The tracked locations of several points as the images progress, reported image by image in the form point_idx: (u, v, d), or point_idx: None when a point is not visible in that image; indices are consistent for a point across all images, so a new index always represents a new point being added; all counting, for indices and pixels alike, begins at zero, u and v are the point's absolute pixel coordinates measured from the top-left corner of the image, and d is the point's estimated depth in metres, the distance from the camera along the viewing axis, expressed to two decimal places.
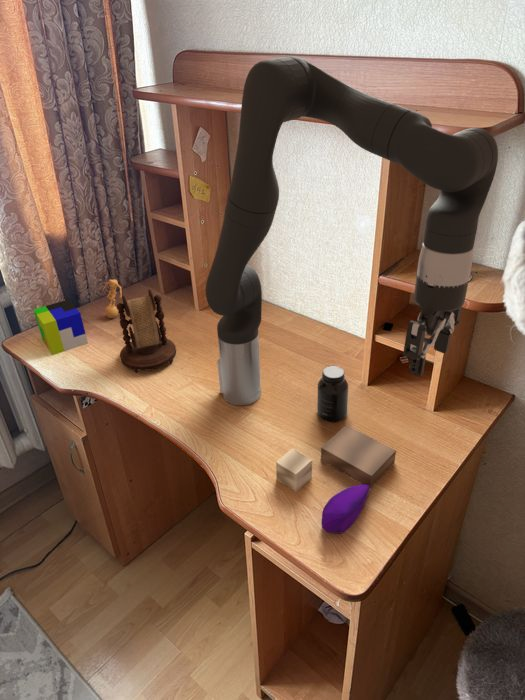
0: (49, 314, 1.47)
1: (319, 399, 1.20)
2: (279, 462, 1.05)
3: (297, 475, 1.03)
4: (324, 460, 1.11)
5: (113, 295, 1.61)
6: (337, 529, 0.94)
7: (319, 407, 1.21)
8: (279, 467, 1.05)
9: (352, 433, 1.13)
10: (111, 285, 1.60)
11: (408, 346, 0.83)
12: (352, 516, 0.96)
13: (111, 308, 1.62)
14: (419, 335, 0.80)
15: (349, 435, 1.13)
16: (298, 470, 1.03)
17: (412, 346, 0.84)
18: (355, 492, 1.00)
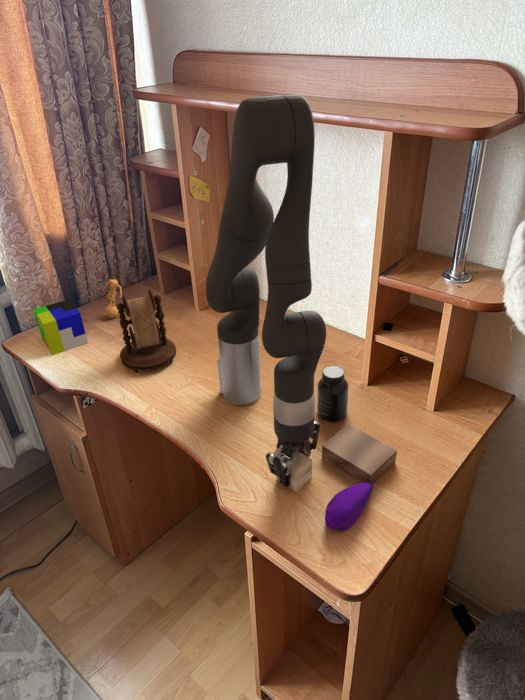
0: (49, 314, 1.47)
1: (319, 399, 1.20)
2: None
3: (297, 475, 1.03)
4: (325, 458, 1.12)
5: (113, 295, 1.61)
6: (340, 526, 0.95)
7: (319, 407, 1.21)
8: None
9: (353, 432, 1.13)
10: (111, 285, 1.60)
11: None
12: (356, 513, 0.97)
13: (111, 308, 1.62)
14: (275, 465, 0.98)
15: (350, 434, 1.13)
16: (298, 469, 1.03)
17: None
18: (359, 490, 1.00)
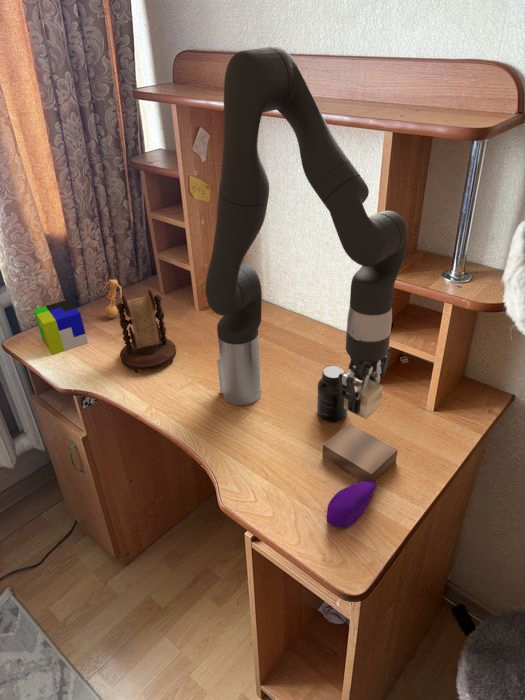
0: (49, 314, 1.47)
1: (319, 399, 1.20)
2: None
3: (369, 400, 0.98)
4: (325, 457, 1.12)
5: (113, 295, 1.61)
6: (342, 523, 0.95)
7: (319, 407, 1.21)
8: None
9: (354, 431, 1.14)
10: (111, 285, 1.60)
11: (343, 391, 0.97)
12: (357, 511, 0.97)
13: (111, 308, 1.62)
14: (348, 386, 0.94)
15: (351, 433, 1.13)
16: (369, 394, 0.98)
17: None
18: (361, 488, 1.01)
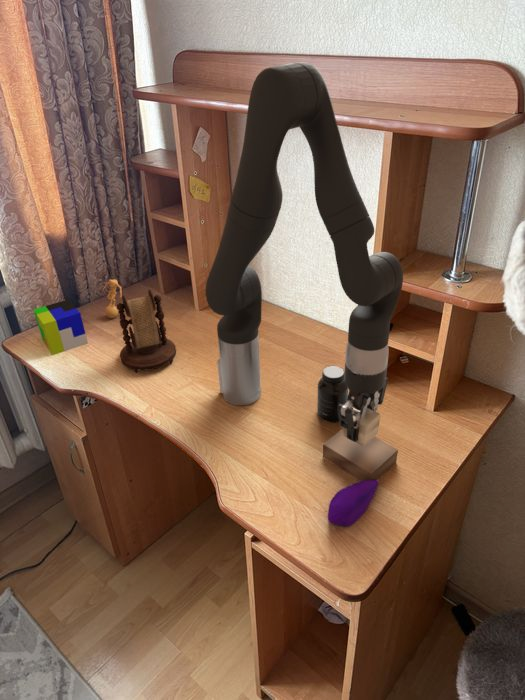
0: (49, 314, 1.47)
1: (319, 399, 1.20)
2: None
3: (367, 428, 1.02)
4: (326, 457, 1.12)
5: (113, 295, 1.61)
6: (343, 521, 0.96)
7: (319, 407, 1.21)
8: None
9: None
10: (111, 285, 1.60)
11: (342, 420, 1.01)
12: (359, 510, 0.97)
13: (111, 308, 1.62)
14: (347, 417, 0.97)
15: None
16: (367, 423, 1.02)
17: None
18: (363, 487, 1.01)
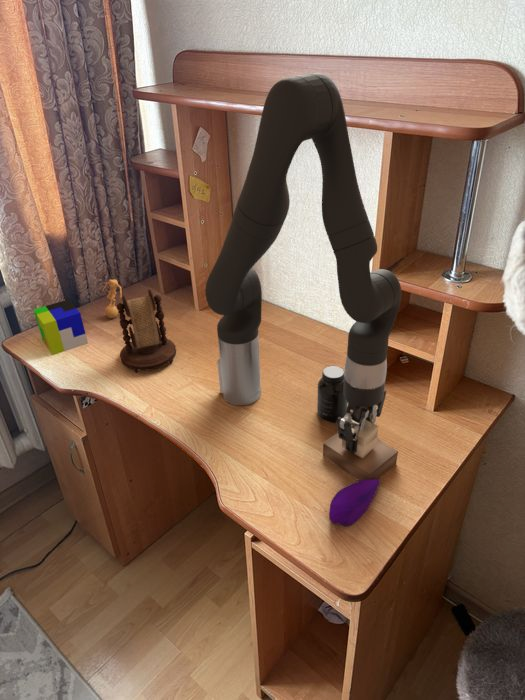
0: (49, 314, 1.47)
1: (319, 399, 1.20)
2: None
3: (365, 441, 1.04)
4: (326, 456, 1.12)
5: (113, 295, 1.61)
6: (344, 520, 0.96)
7: (319, 407, 1.21)
8: None
9: None
10: (111, 285, 1.60)
11: (341, 433, 1.02)
12: (360, 509, 0.97)
13: (111, 308, 1.62)
14: (346, 429, 0.99)
15: None
16: (366, 435, 1.04)
17: None
18: (364, 486, 1.01)
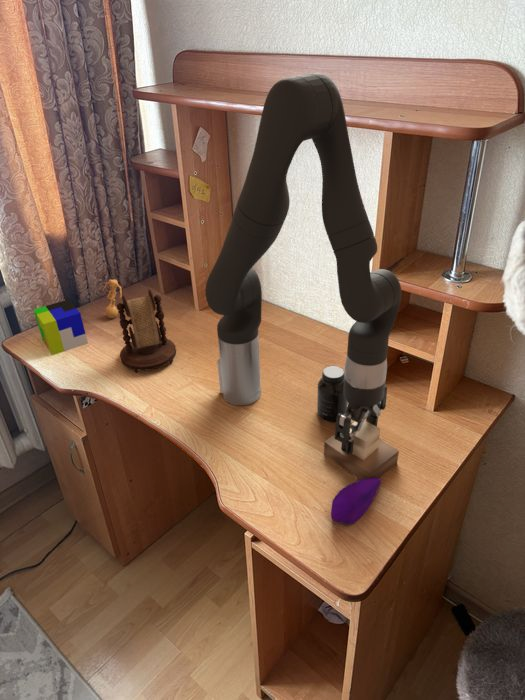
0: (49, 314, 1.47)
1: (319, 399, 1.20)
2: None
3: (367, 443, 1.05)
4: (327, 454, 1.12)
5: (113, 295, 1.61)
6: (346, 519, 0.96)
7: (319, 407, 1.21)
8: None
9: None
10: (111, 285, 1.60)
11: (338, 433, 1.01)
12: (362, 508, 0.98)
13: (111, 308, 1.62)
14: (345, 426, 0.98)
15: None
16: (367, 437, 1.05)
17: None
18: (366, 485, 1.01)
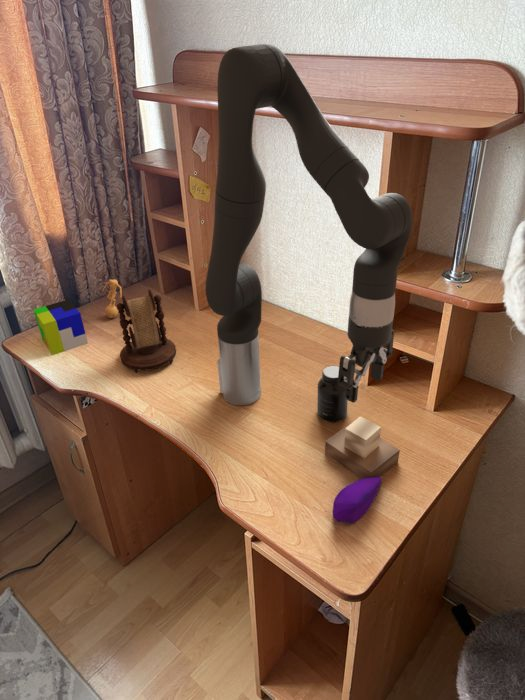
0: (49, 314, 1.47)
1: (319, 399, 1.20)
2: (348, 428, 1.07)
3: (367, 441, 1.05)
4: (328, 454, 1.13)
5: (113, 295, 1.61)
6: (348, 518, 0.96)
7: (319, 407, 1.21)
8: (348, 433, 1.07)
9: None
10: (111, 285, 1.60)
11: (341, 377, 0.94)
12: (363, 507, 0.98)
13: (111, 308, 1.62)
14: (349, 368, 0.91)
15: None
16: (367, 436, 1.05)
17: (346, 376, 0.96)
18: (367, 484, 1.01)
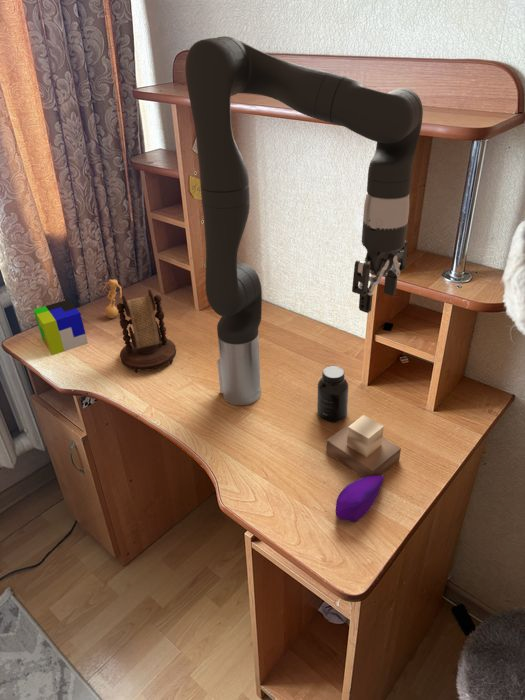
0: (49, 314, 1.47)
1: (319, 399, 1.20)
2: (351, 427, 1.07)
3: (369, 440, 1.05)
4: (329, 453, 1.13)
5: (113, 295, 1.61)
6: (351, 517, 0.97)
7: (319, 407, 1.21)
8: (351, 432, 1.08)
9: None
10: (111, 285, 1.60)
11: (356, 284, 0.94)
12: (366, 505, 0.98)
13: (111, 308, 1.62)
14: (364, 272, 0.92)
15: None
16: (370, 434, 1.05)
17: (360, 285, 0.96)
18: (369, 482, 1.02)
